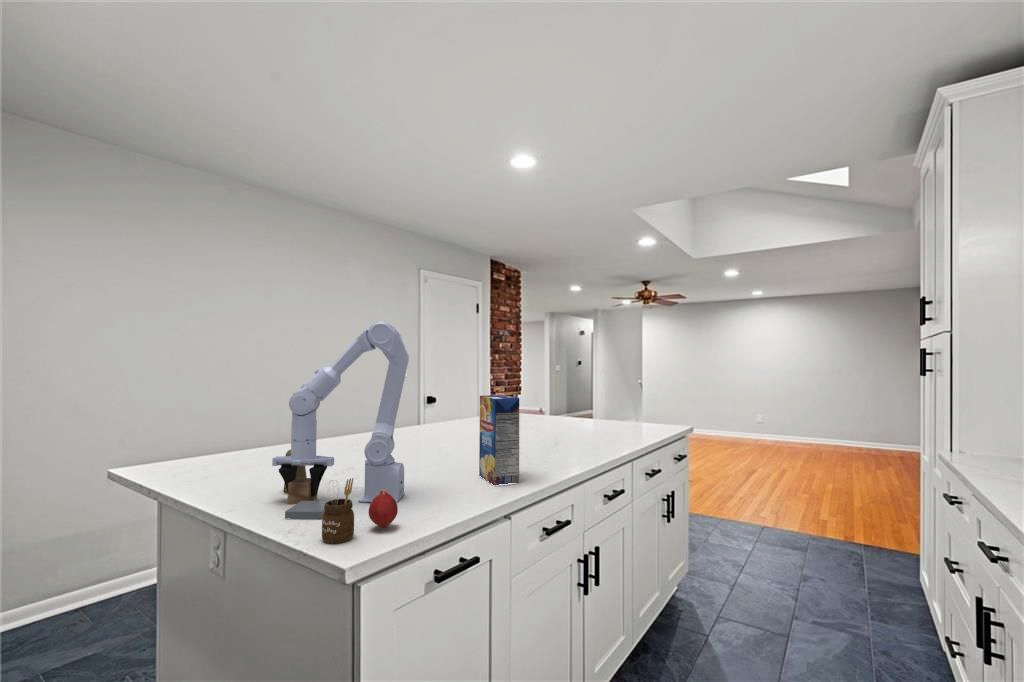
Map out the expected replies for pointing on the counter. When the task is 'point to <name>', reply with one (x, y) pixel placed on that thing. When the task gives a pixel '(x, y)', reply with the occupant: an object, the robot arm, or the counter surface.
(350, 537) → the utensil holder
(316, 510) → the slate base
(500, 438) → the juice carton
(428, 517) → the counter surface
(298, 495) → the walnut cube
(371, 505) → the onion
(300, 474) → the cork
